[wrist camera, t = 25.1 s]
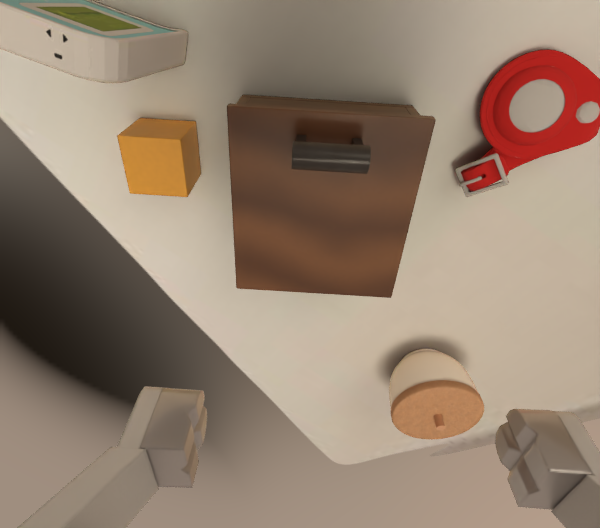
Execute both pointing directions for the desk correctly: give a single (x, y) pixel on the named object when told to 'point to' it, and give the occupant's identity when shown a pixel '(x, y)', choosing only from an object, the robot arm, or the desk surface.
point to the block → (160, 156)
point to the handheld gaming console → (89, 39)
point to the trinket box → (433, 396)
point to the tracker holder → (532, 115)
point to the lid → (323, 196)
